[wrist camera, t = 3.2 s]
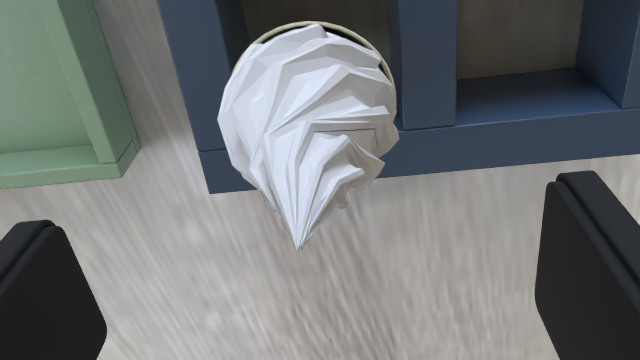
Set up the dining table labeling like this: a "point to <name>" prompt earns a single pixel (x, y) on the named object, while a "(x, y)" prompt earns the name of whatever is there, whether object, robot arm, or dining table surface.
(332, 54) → the ice cream cone
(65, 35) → the shallow green box
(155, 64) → the dining table surface
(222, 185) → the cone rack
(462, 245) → the dining table surface
